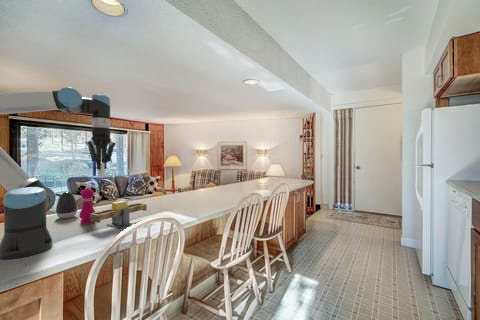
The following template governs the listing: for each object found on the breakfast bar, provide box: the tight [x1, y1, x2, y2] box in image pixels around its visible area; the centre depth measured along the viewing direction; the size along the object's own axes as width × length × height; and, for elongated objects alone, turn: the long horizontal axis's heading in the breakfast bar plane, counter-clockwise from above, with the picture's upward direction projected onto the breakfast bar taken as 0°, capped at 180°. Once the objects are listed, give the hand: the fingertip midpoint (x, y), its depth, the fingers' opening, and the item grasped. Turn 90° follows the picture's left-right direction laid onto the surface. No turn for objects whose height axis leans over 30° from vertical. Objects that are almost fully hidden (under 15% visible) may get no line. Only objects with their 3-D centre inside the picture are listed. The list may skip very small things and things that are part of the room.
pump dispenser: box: [55, 191, 78, 220], centre depth 131 cm, size 10×10×15 cm
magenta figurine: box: [78, 185, 96, 226], centre depth 120 cm, size 7×7×20 cm
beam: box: [90, 202, 147, 224], centre depth 117 cm, size 26×7×4 cm, turn 149°
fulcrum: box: [106, 209, 134, 230], centre depth 117 cm, size 8×12×9 cm, turn 59°
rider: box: [111, 200, 128, 211], centre depth 116 cm, size 6×4×4 cm, turn 149°
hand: (101, 176), depth 108 cm, fingers closed
